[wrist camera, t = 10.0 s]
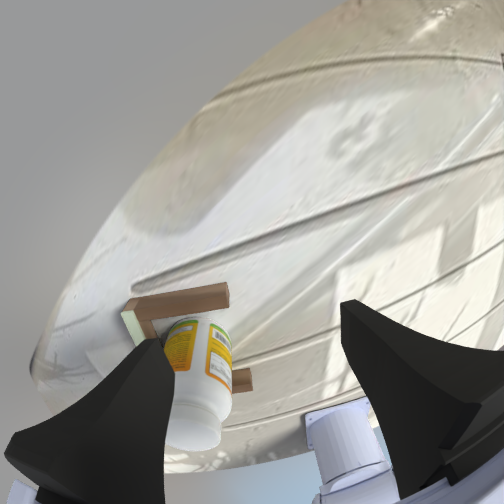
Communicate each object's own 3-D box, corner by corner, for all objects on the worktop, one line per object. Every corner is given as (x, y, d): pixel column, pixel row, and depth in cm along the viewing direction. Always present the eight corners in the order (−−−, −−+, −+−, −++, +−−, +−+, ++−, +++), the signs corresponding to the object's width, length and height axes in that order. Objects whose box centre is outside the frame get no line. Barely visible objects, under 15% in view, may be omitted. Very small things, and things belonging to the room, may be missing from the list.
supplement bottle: (165, 355, 22) (142, 445, 13) (172, 307, 21) (141, 402, 11) (223, 369, 23) (222, 461, 14) (238, 323, 21) (243, 423, 12)
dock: (251, 375, 24) (253, 393, 21) (171, 384, 24) (167, 401, 21) (226, 281, 20) (225, 297, 18) (130, 298, 20) (120, 313, 18)
